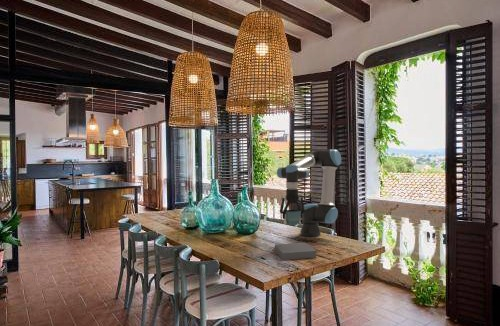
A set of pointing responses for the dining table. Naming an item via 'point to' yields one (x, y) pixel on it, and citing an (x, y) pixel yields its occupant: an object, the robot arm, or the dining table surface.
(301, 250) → the plinth
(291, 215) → the flower pot
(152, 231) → the dining table surface
